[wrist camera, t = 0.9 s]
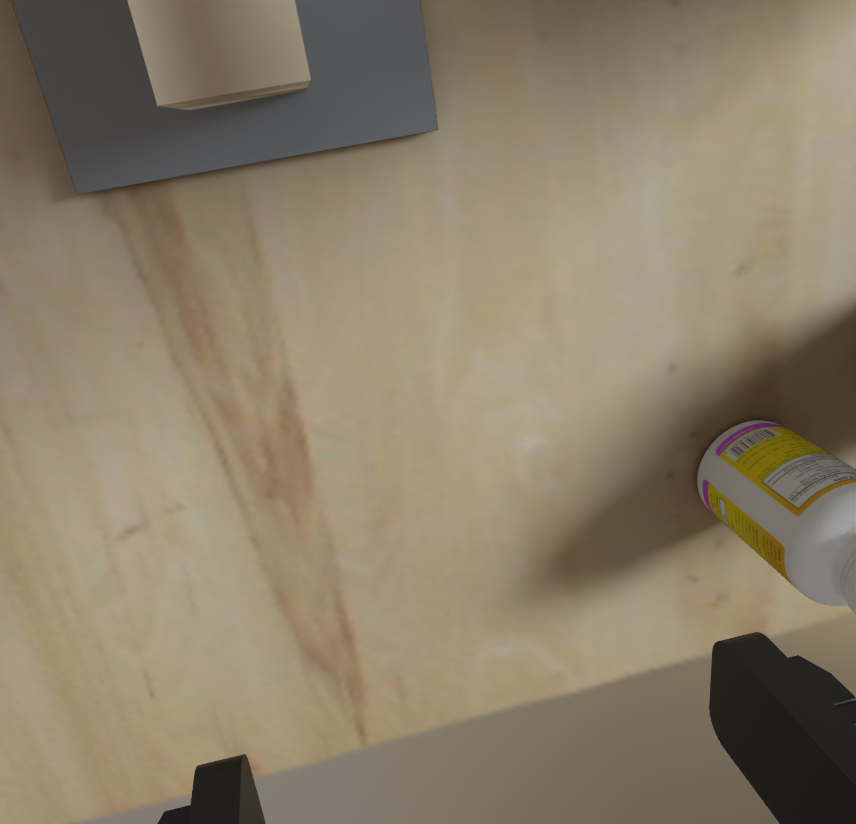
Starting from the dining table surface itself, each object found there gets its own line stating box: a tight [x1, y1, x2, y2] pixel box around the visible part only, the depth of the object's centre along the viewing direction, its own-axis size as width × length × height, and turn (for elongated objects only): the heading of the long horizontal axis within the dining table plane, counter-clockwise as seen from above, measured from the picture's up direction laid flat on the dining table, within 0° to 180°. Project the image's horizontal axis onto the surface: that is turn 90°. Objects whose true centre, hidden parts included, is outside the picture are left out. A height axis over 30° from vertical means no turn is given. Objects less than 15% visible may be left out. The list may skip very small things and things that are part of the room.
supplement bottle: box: [697, 420, 856, 613], centre depth 38 cm, size 7×7×13 cm
